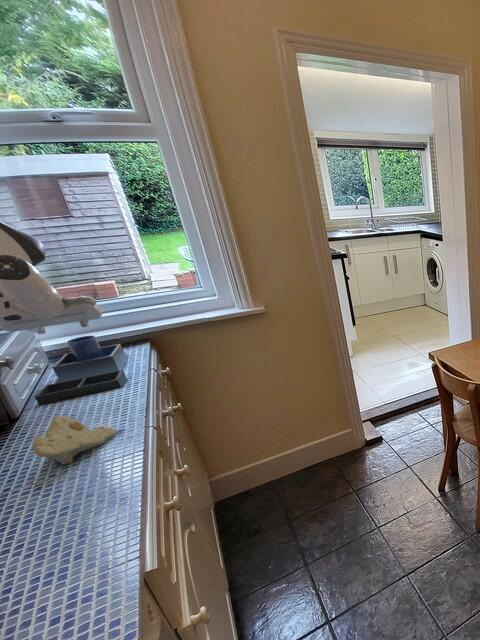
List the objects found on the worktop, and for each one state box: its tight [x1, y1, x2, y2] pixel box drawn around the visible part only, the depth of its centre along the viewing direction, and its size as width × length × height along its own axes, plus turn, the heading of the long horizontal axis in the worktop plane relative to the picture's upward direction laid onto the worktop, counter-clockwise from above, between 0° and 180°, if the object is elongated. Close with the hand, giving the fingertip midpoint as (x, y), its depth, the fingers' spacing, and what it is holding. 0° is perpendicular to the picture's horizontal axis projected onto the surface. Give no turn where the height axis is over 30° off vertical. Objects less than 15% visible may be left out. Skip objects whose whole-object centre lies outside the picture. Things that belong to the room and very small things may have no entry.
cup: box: [66, 335, 105, 362], centre depth 137 cm, size 7×7×11 cm
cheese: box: [32, 415, 117, 465], centre depth 92 cm, size 15×7×15 cm
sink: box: [51, 343, 128, 382], centre depth 138 cm, size 14×14×6 cm
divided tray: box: [34, 369, 128, 407], centre depth 123 cm, size 18×9×4 cm, turn 123°
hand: (64, 328), depth 124 cm, fingers open, 8 cm apart
